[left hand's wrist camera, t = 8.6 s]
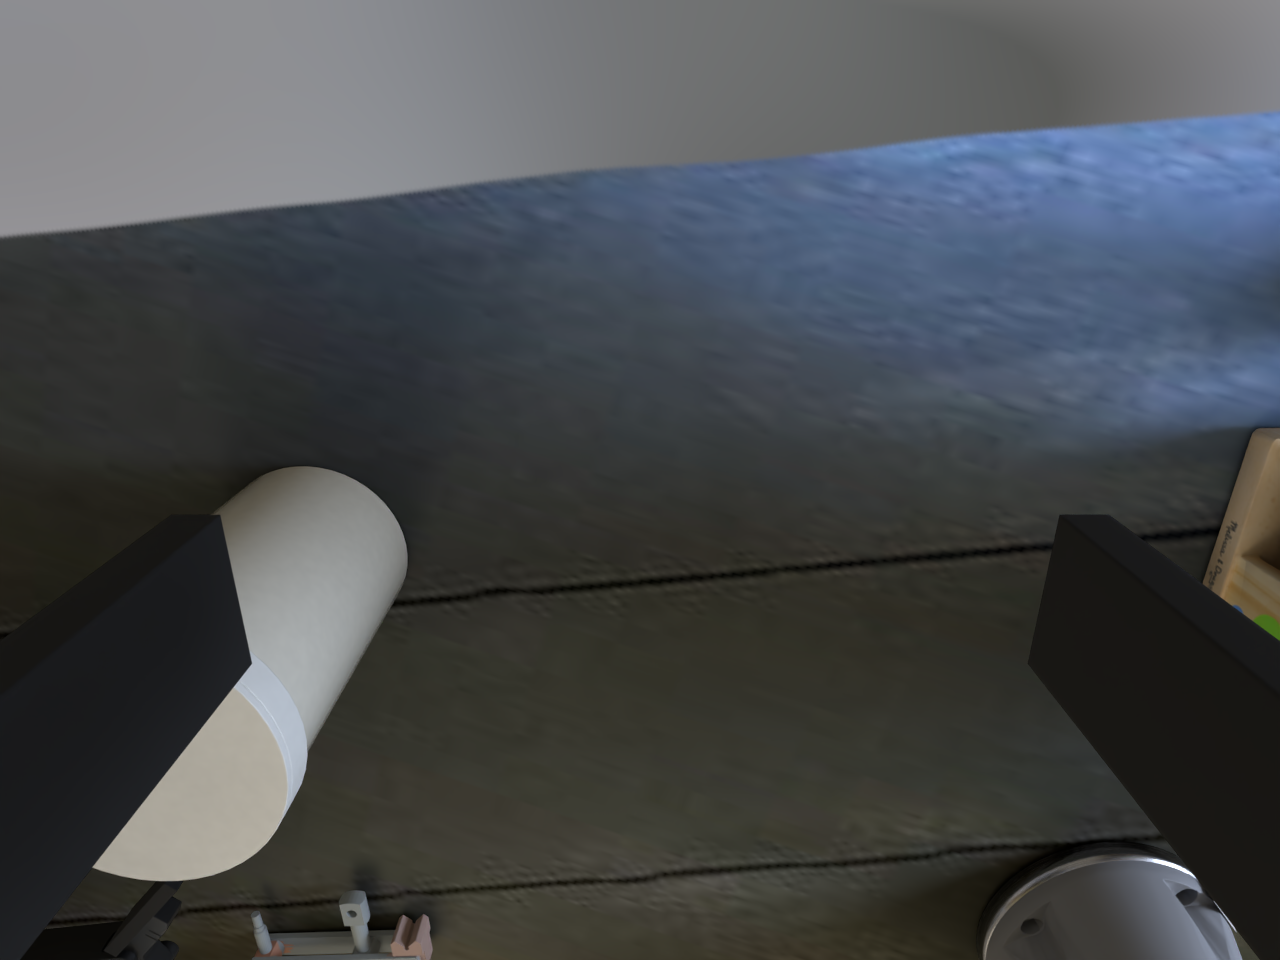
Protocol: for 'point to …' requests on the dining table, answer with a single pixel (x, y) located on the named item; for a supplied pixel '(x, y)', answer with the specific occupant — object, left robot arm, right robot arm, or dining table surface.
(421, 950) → the clamp
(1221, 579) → the pounding bench toy
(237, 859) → the lid
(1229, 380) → the dining table surface
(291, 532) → the jar
